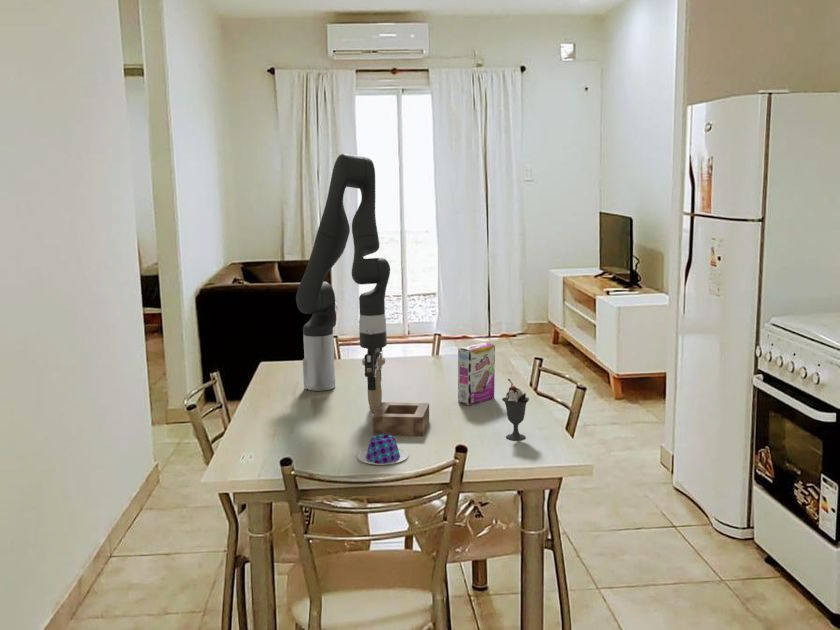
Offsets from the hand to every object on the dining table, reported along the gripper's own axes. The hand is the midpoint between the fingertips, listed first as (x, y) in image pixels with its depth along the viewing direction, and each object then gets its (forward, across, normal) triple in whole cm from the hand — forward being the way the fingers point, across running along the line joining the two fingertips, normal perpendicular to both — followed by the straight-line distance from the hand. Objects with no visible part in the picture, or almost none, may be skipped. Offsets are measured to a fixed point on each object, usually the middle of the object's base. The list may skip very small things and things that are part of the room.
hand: (374, 386), depth 238 cm
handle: (+7, 0, 0) cm, 7 cm away
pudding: (+8, +38, +9) cm, 40 cm away
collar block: (+7, +15, +10) cm, 19 cm away
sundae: (+8, +21, +40) cm, 46 cm away
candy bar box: (+7, -12, +28) cm, 31 cm away
